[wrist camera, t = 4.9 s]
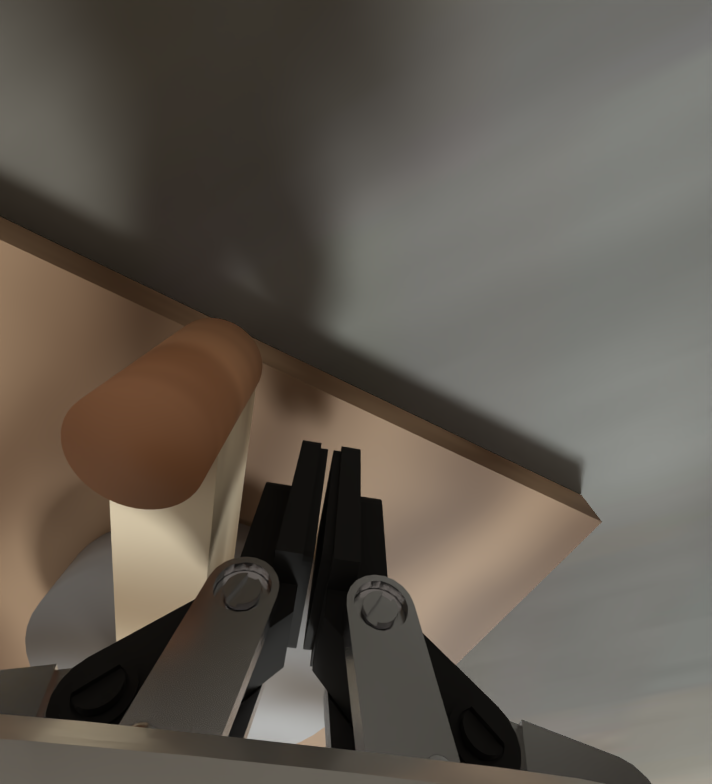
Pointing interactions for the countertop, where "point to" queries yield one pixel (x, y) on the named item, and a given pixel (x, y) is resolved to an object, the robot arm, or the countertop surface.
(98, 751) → the robot arm
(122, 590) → the grey disc with handle
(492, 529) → the board
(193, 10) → the countertop surface
